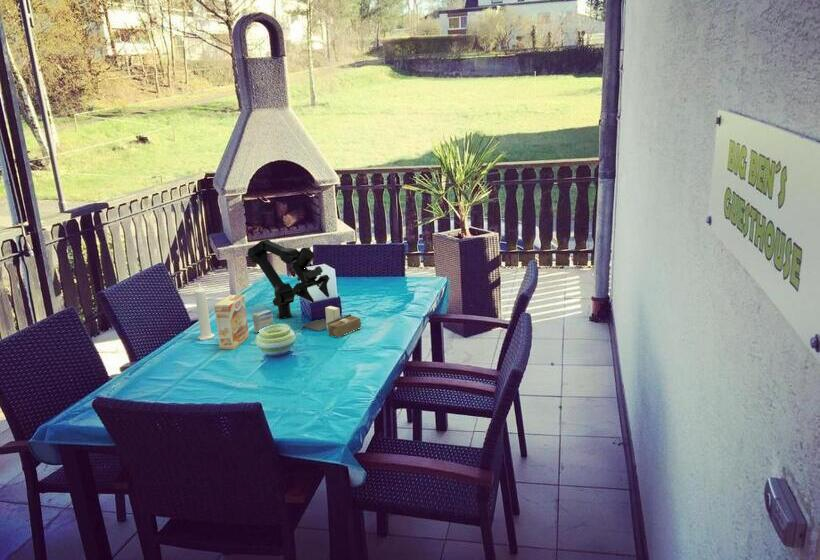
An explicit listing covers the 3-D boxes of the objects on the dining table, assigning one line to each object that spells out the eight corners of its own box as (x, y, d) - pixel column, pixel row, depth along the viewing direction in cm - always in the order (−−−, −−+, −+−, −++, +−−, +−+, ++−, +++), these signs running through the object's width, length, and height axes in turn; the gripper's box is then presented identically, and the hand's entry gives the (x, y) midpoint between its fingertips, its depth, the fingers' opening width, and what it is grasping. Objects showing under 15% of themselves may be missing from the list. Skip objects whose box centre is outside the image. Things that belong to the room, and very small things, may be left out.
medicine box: (260, 334, 297) (258, 315, 295) (254, 332, 300) (252, 314, 297) (274, 328, 303) (272, 310, 301) (267, 327, 306) (265, 309, 303)
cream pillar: (326, 328, 299) (325, 307, 297) (331, 326, 302) (330, 305, 299) (336, 331, 296) (334, 309, 293) (341, 329, 298) (339, 308, 295)
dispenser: (328, 335, 291) (327, 323, 290) (350, 326, 302) (350, 314, 300) (338, 338, 287) (337, 325, 286) (361, 328, 298) (360, 316, 296)
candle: (194, 339, 295) (186, 284, 288) (206, 333, 301) (198, 280, 294) (206, 341, 292) (199, 286, 285) (218, 335, 298) (210, 281, 291)
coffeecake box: (234, 349, 280) (229, 305, 275) (219, 349, 282) (213, 305, 276) (249, 336, 294) (244, 294, 289) (234, 336, 296) (229, 294, 290)
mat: (301, 326, 304) (301, 325, 304) (320, 319, 312) (320, 318, 312) (319, 331, 296) (319, 330, 296) (338, 324, 305) (338, 322, 305)
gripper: (293, 266, 292) (312, 294, 288) (325, 257, 305) (344, 284, 301) (283, 281, 299) (302, 308, 295) (315, 271, 312) (333, 298, 308)
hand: (321, 299), depth 300 cm, fingers open, 9 cm apart
